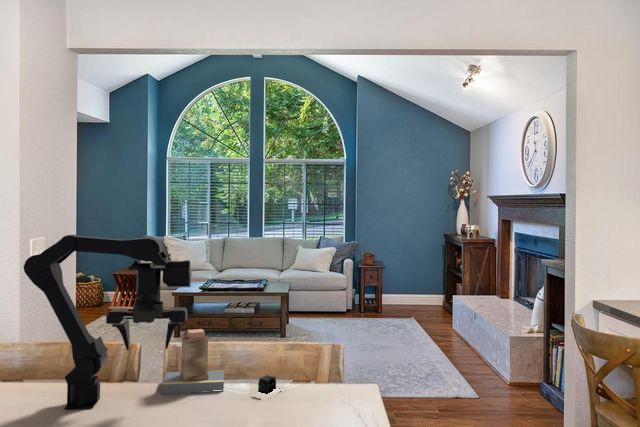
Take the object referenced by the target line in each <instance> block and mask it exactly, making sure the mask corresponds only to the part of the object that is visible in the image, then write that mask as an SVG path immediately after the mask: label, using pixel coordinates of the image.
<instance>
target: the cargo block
mask: <svg viewBox="0 0 640 427" xmlns="http://www.w3.org/2000/svg"><path fill="white" fill-rule="evenodd" d="M205 333H206V332H205V330H204V329H203V328H198V329H197V328H195V329H187V334H186V336H187V339H188V340H197V339H205V336H206V334H205Z"/></svg>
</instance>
